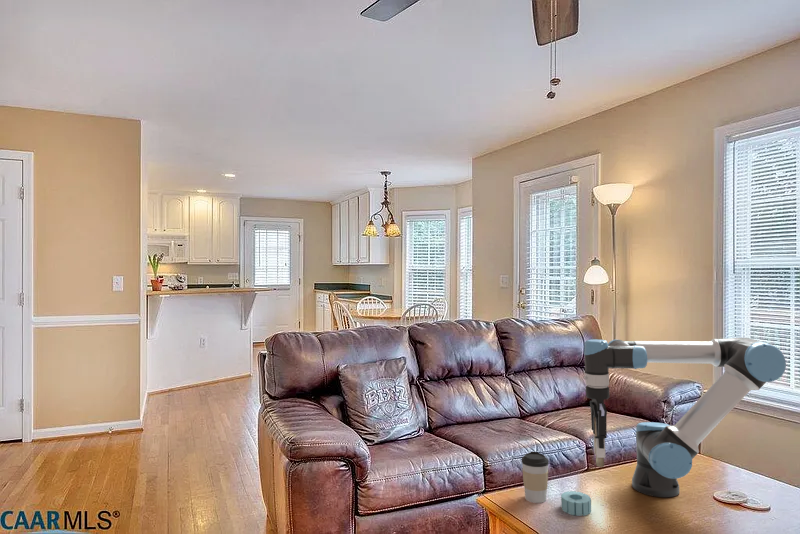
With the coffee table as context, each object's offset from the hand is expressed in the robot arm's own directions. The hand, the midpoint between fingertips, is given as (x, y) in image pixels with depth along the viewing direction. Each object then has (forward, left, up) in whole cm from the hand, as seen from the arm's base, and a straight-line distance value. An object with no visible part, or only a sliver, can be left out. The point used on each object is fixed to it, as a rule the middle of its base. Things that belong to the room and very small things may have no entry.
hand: (599, 455), depth 177 cm
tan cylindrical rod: (0, 0, -3) cm, 3 cm away
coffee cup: (+21, 0, -16) cm, 26 cm away
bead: (+9, +7, -15) cm, 19 cm away
